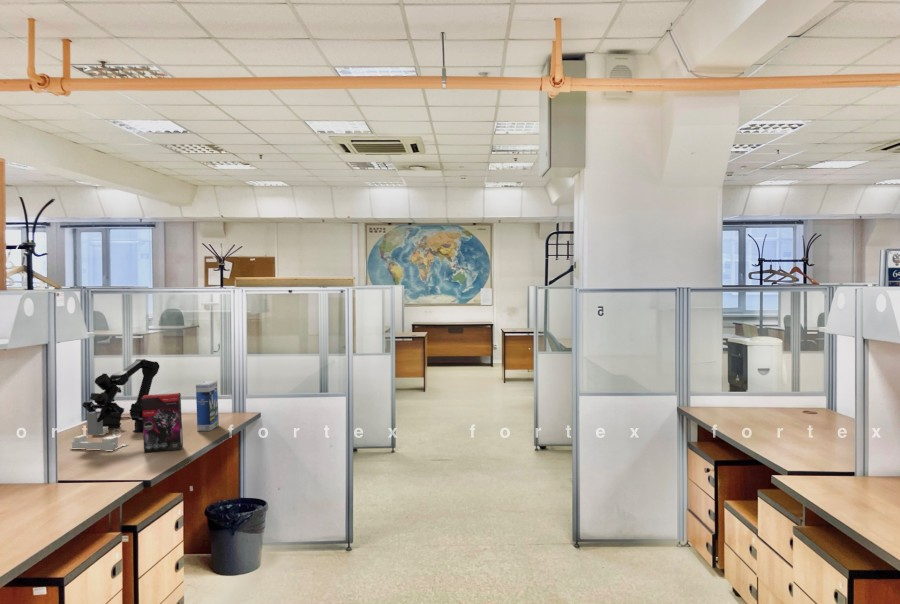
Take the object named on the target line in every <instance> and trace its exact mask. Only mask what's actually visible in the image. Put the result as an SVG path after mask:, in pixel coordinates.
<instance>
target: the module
mask: <svg viewBox="0 0 900 604" xmlns="http://www.w3.org/2000/svg"><path fill="white" fill-rule="evenodd" d="M100 414H101V410H100V411H99V410H96V411H92V412H87V413H86V424H87V427H86V428H87V436H89V435H90V436H93V435H99V434H102V433H103V420H101V421H100V422H97V420H98V418H99V416H100Z"/></svg>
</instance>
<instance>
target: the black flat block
mask: <svg viewBox="0 0 900 604" xmlns="http://www.w3.org/2000/svg"><path fill="white" fill-rule="evenodd" d="M119 407H120V411H119V413H114V412H113V414H111V415H109V416H107V417H106V418H104V419H103V427H108V428H116V429H120V428H121V425H122V423H121V420H122V418H123V417H122V416H123V415H122V414H123V413H124V412H125V408H124V407H121V406H119ZM100 411H101V412H102V409H100ZM119 427H120V428H119Z"/></svg>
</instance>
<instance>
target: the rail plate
mask: <svg viewBox="0 0 900 604" xmlns="http://www.w3.org/2000/svg"><path fill="white" fill-rule="evenodd" d="M87 438H88V434H87V435H86V434H81V435H78V436H74V437H73V441H72V442H71V448H85V449H100V450H114V451H116V450H115V448H117V447H118V444H119V437H118V436H111V435H110V436H106V437H104V438H101V442H93V441H88V439H87ZM121 444H122V445H123V446H125V447H127V446H129V444H127V443H121ZM126 444H127V446H126ZM122 445H121V446H122ZM117 450H119V449H118V448H117Z"/></svg>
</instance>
